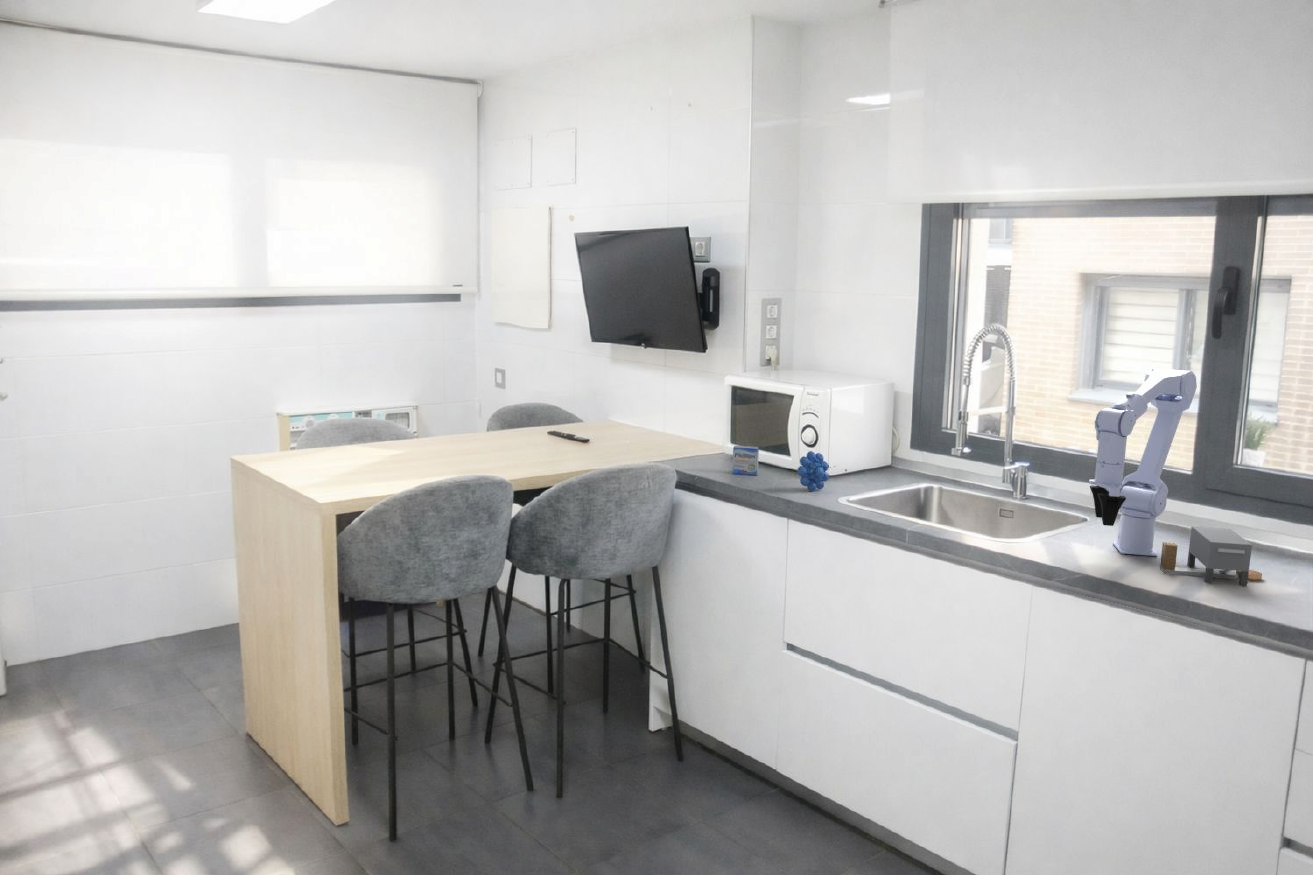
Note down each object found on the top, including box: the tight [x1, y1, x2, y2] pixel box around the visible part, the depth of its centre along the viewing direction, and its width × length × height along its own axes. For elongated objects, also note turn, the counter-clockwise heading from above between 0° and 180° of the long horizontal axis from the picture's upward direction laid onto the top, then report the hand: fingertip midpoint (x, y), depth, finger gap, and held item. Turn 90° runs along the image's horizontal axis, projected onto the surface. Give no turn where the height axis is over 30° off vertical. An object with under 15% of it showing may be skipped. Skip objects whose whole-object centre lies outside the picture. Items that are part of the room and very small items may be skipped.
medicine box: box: [731, 445, 760, 477], centre depth 324 cm, size 8×4×9 cm, turn 80°
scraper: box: [1159, 541, 1239, 580], centre depth 226 cm, size 3×15×6 cm, turn 79°
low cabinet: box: [1186, 525, 1253, 587], centre depth 225 cm, size 15×8×9 cm, turn 168°
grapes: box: [796, 450, 830, 492], centre depth 299 cm, size 12×7×12 cm, turn 123°
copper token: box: [1235, 569, 1263, 582], centre depth 224 cm, size 5×5×2 cm
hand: (1104, 521), depth 233 cm, fingers open, 7 cm apart
